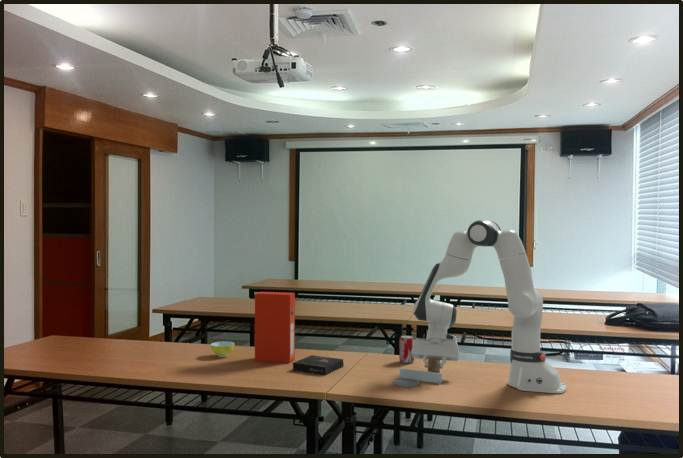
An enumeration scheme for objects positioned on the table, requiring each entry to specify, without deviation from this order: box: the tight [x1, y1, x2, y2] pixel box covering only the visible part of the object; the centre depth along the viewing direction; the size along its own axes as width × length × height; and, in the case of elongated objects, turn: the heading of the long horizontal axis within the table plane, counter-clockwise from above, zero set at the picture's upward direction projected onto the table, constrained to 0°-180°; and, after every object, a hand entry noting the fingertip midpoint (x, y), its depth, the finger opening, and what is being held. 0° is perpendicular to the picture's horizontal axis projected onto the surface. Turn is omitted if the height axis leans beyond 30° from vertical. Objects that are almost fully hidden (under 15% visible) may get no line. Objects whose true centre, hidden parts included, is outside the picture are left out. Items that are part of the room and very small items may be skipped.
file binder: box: [254, 291, 296, 364], centre depth 269 cm, size 8×17×32 cm, turn 78°
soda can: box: [398, 335, 415, 364], centre depth 267 cm, size 7×7×12 cm
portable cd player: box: [292, 354, 344, 376], centre depth 253 cm, size 16×17×4 cm
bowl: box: [210, 340, 236, 358], centre depth 276 cm, size 11×12×6 cm
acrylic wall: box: [398, 367, 443, 385], centre depth 235 cm, size 18×2×4 cm, turn 64°
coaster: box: [392, 378, 420, 388], centre depth 231 cm, size 11×11×1 cm
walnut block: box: [427, 358, 441, 373], centre depth 238 cm, size 4×4×8 cm
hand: (433, 367), depth 237 cm, fingers closed on walnut block, 4 cm apart
